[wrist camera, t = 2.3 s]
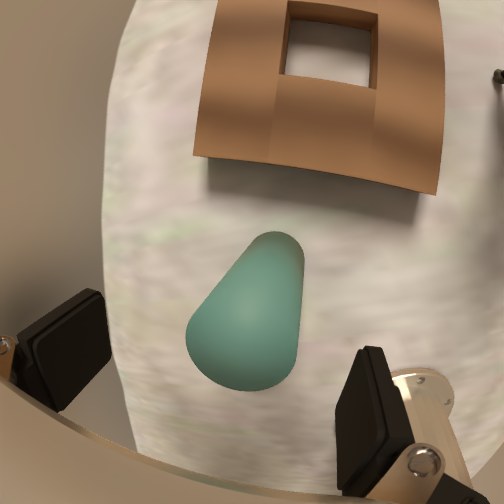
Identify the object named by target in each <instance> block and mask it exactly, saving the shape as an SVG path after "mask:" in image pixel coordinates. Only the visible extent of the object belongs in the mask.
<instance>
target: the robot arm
mask: <svg viewBox="0 0 504 504" xmlns="http://www.w3.org/2000/svg"><path fill="white" fill-rule="evenodd" d="M17 338H18V341H19V343H18V344H17V345H16V343H15V341H14V339H13V338H11V337H9V336H4V335H1V336H0V504H490V503H489V501H488V500H487V498H486V497H484V496H483V495H482V494H480V493H478V492H476V491H474V489H473V486H472V483H471V480H470V476H469V473H468V470H467V467H466V464H465V461H464V458H463V456H462V453H461V450H460V447H459V445H458V442H457V439H456V437H455V434H454V432H453V429H452V426H451V424H450V422H449V419H448V417H449V415H450V413H451V411H452V408H453V405H454V392H453V389H452V387H451V385H450V383H449V381H448V380H447V379H446V377H445V376H443V375H442V374H440V373H439V372H437V371H434V370H431V369H423V368H412V369H404V370H400V371H395V372H392V373H390V370H389V367H388V364H387V361H386V358H385V355H384V352H383V349H382V348H381V347H374V346H365V347H364V348H363V350H362V349H359V350H358V352H357V354H356V357H355V360H354V362H353V365H352V368H351V370H350V373H349V375H348V378H347V381H346V383H345V386H344V388H343V390H342V393H341V395H340V398H339V400H338V402H337V405H336V409H335V422H336V446H337V488H338V490H342V496H334V495H322V494H309V493H299V492H290V491H283V490H276V489H269V488H263V487H257V486H251V485H246V484H241V483H236V482H231V481H227V480H223V479H218V478H214V477H210V476H207V475H203V474H199V473H196V472H192V471H189V470H186V469H182V468H179V467H176V466H173V465H170V464H167V463H164V462H161V461H158V460H156V459H153V458H150V457H147V456H145V455H142V454H140V453H137V452H135V451H132V450H130V449H127V448H125V447H123V446H120V445H118V444H116V443H114V442H111V441H109V440H107V439H105V438H103V437H101V436H99V435H97V434H95V433H93V432H91V431H89V430H87V429H85V428H83V427H81V426H79V425H77V424H75V423H74V422H72V421H70V420H68V419H67V418H65V417H63V416H61V415H60V414H58V412H59V411H62V410H64V409H65V408H66V407H67V406H68V405H69V404H70V403H71V402H72V400H73V399H74V398H75V397H76V396H77V395H78V394H79V393H80V392H81V391H82V390H83V388H84V387H85V386H86V385H87V384H88V383H89V382H90V380H92V379H93V378H94V376H95V375H96V374H97V373H98V372H99V371H100V370H101V369H102V368H103V367H104V366H105V365H106V364H107V363H108V361H109V360H110V359H111V355H112V351H111V345H110V339H109V332H108V325H107V317H106V308H105V300H104V297H103V296H102V294H101V293H100V292H99V291H96V290H92V289H89V288H86V289H84V290H83V291H81V292H80V293H78V294H76V295H75V296H74V297H72V298H70V299H69V300H67V301H66V302H64V303H63V304H61V305H60V306H58V307H57V308H55V309H54V310H52V311H51V312H49V313H48V314H46V315H45V316H43V317H42V318H40V319H39V320H37V321H36V322H34V323H33V324H31V325H30V326H29V327H27V328H26V329H24V330H23V331H21V332H20V333H18V334H17Z"/></svg>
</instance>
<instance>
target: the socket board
mask: <svg viewBox="0 0 504 504" xmlns="http://www.w3.org/2000/svg"><path fill="white" fill-rule="evenodd" d="M291 19H296V20H306V21H315V22H323V23H330V24H336V25H342V26H348V27H353V28H358V29H363V30H368V31H371V52H370V75H369V88H366V87H362V86H357V85H352V84H347V83H341V82H335V81H329V80H323V79H316V78H309V77H301V76H292V75H284V72H285V64H286V56H287V47H288V38H289V30H290V21H291ZM444 113H445V62H444V45H443V33H442V24H441V15H440V8H439V2H438V0H218V4H217V8H216V13H215V18H214V22H213V27H212V32H211V38H210V43H209V48H208V54H207V59H206V65H205V71H204V77H203V84H202V90H201V97H200V104H199V111H198V118H197V126H196V133H195V142H194V150H193V156H200V157H209V158H221V159H231V160H241V161H250V162H258V163H267V164H274V165H282V166H289V167H296V168H302V169H309V170H315V171H321V172H327V173H332V174H338V175H343V176H349V177H354V178H359V179H364V180H369V181H374V182H378V183H383V184H387V185H392V186H396V187H400V188H405V189H409V190H413V191H417V192H421V193H426V194H430V195H435V196H436V192H437V186H438V179H439V171H440V163H441V154H442V144H443V131H444Z"/></svg>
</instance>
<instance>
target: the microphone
mask: <svg viewBox="0 0 504 504" xmlns="http://www.w3.org/2000/svg"><path fill="white" fill-rule="evenodd" d="M494 78H495V80H496V81H497V82H498V83H500V84H504V70H503V71H502V70H500V69H497V70H495V71H494Z"/></svg>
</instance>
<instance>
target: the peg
mask: <svg viewBox="0 0 504 504" xmlns="http://www.w3.org/2000/svg"><path fill="white" fill-rule="evenodd" d="M303 277H304V253H303V250H302V248H301V246H300V245H299V243H298V242H297V241H296V240H295V239H294V238H293V237H291V236H290V235H288V234H285V233H283V232H276V231H273V232H267V233H264V234H261V235H260V236H258V237H257V238H256V239H254V240H253V242H252V243H251V244H250V245H249V246H248V248H247V249H246V250H245V251H244V253H243V254H242V255H241V256H240V257H239V259H238V260H237V261H236V262H235V264H234V265H233V266H232V267H231V269H230V270H229V271H228V272H227V273H226V275H225V276H224V277H223V278H222V280H221V281H220V282H219V283H218V285H217V286H216V287H215V288H214V290H213V291H212V292H211V293H210V294H209V296H208V297H207V298H206V299H205V301H204V302H203V303H202V304H201V306H200V307H199V308H198V309H197V311H196V312H195V313H194V314H193V316H192V317H191V319H190V321H189V323H188V325H187V329H186V346H187V350H188V352H189V355H190V357H191V359H192V361H193V362H194V364H195V365H196V366H197V368H198V369H199V370H200V371H201V372H202V373H203V374H204V375H205V376H207V377H208V378H209V379H211V380H212V381H214V382H215V383H217V384H219V385H221V386H224V387H227V388H230V389H233V390H238V391H260V390H264V389H268V388H270V387H273V386H275V385H277V384H278V383H280V382H281V381H282V380H284V379H285V378H286V377H287V376H288V374H289V373H290V372H291V370H292V368H293V366H294V364H295V361H296V356H297V347H298V337H299V326H300V315H301V303H302V290H303Z"/></svg>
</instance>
